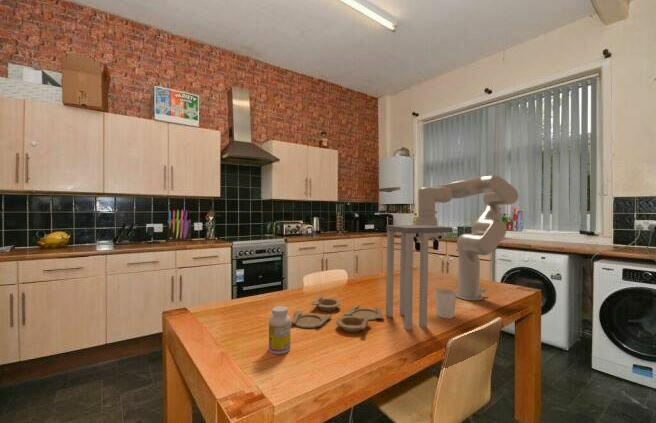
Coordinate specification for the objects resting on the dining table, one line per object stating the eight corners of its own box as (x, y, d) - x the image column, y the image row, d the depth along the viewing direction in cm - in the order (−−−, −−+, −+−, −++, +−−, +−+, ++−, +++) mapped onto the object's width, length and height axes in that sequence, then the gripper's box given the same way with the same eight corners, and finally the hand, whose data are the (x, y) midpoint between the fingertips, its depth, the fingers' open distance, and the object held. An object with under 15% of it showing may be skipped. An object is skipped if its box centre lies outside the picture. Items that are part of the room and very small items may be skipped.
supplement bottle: (269, 345, 95) (270, 305, 94) (290, 344, 95) (291, 304, 95) (267, 355, 88) (267, 312, 88) (290, 354, 88) (290, 312, 88)
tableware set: (281, 326, 111) (281, 315, 111) (312, 302, 138) (312, 293, 138) (374, 341, 99) (375, 329, 99) (388, 312, 126) (388, 303, 126)
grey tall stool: (425, 310, 128) (427, 224, 127) (450, 323, 114) (452, 227, 113) (384, 315, 121) (386, 225, 121) (406, 330, 107) (407, 228, 107)
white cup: (452, 312, 126) (452, 289, 126) (458, 319, 118) (458, 294, 118) (433, 311, 127) (433, 288, 126) (438, 318, 119) (438, 293, 119)
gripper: (437, 213, 145) (437, 248, 145) (406, 213, 140) (406, 250, 140) (447, 213, 137) (447, 250, 138) (414, 214, 133) (415, 252, 133)
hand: (426, 250), depth 139 cm, fingers open, 9 cm apart
